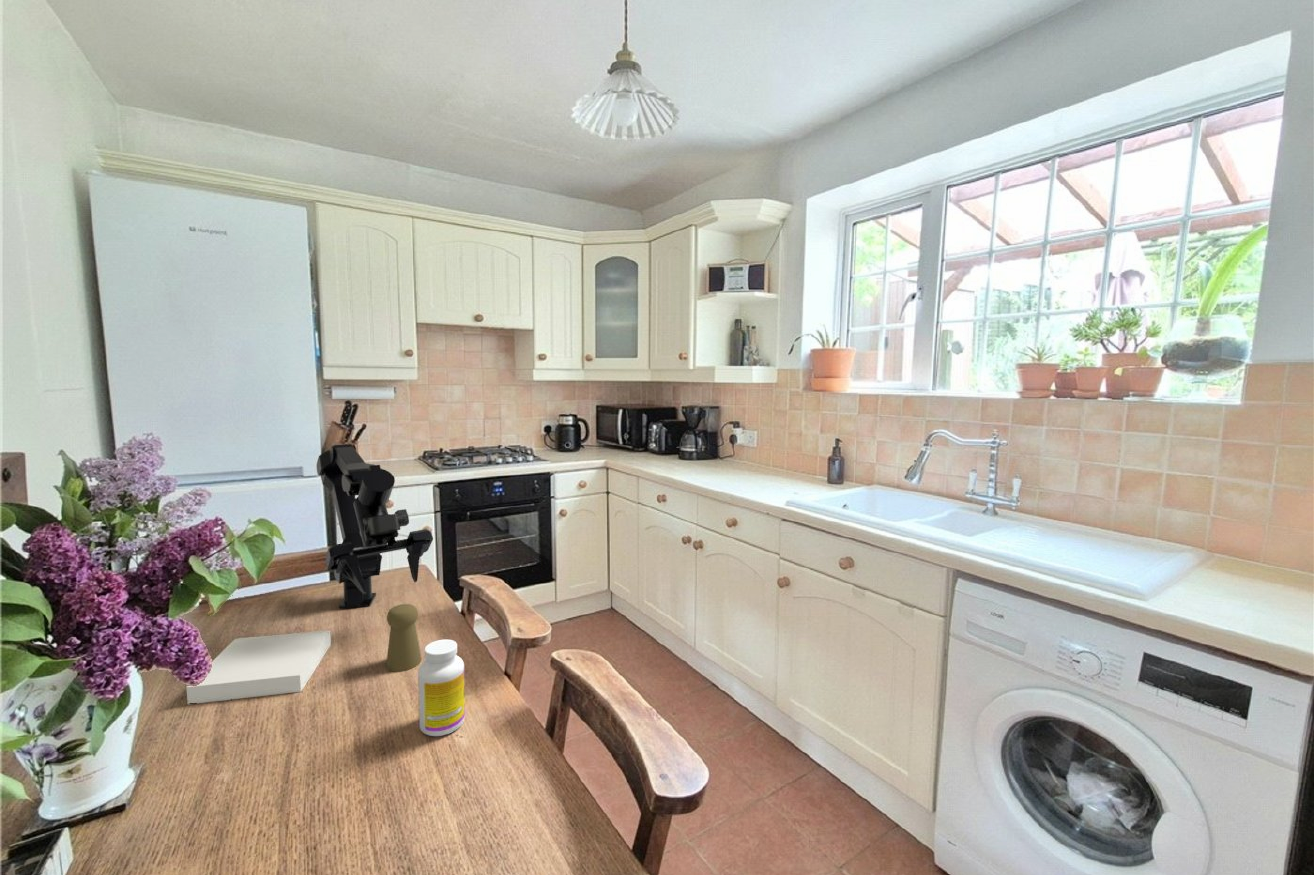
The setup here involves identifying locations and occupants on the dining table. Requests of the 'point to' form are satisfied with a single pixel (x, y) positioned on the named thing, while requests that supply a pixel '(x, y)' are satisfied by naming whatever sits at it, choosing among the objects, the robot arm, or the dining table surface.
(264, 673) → the base block
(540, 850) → the dining table surface
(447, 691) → the supplement bottle
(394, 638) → the cork
